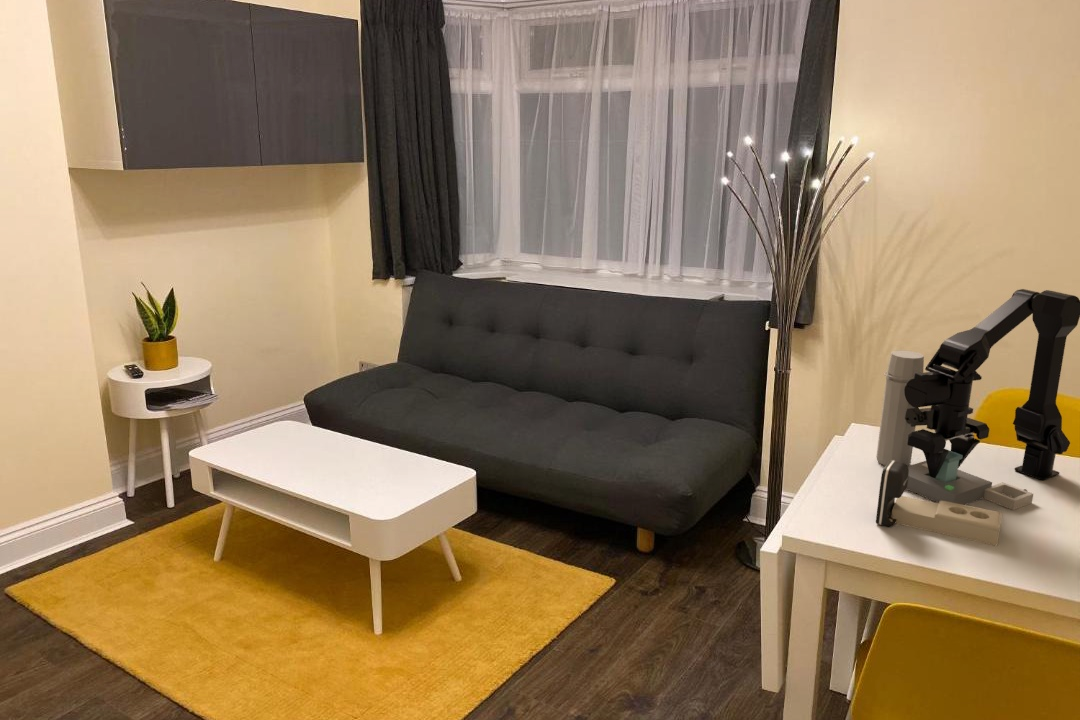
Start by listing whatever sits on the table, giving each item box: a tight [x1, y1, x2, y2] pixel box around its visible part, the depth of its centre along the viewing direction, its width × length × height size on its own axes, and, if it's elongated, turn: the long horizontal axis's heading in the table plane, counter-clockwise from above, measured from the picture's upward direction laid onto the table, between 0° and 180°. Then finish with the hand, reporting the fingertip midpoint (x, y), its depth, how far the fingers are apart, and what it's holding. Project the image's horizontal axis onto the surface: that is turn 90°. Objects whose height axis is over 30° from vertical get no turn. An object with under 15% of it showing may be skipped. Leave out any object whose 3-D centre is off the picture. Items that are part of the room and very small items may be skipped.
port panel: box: [906, 460, 993, 505], centre depth 178 cm, size 12×14×3 cm
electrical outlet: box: [892, 495, 1003, 546], centre depth 162 cm, size 7×4×18 cm
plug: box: [929, 448, 963, 483], centre depth 177 cm, size 4×4×8 cm
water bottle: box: [875, 350, 925, 466], centre depth 189 cm, size 9×8×25 cm
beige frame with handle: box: [983, 482, 1034, 511], centre depth 174 cm, size 9×6×2 cm
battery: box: [875, 460, 909, 527], centre depth 163 cm, size 7×4×11 cm, turn 146°
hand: (942, 473), depth 177 cm, fingers open, 6 cm apart
